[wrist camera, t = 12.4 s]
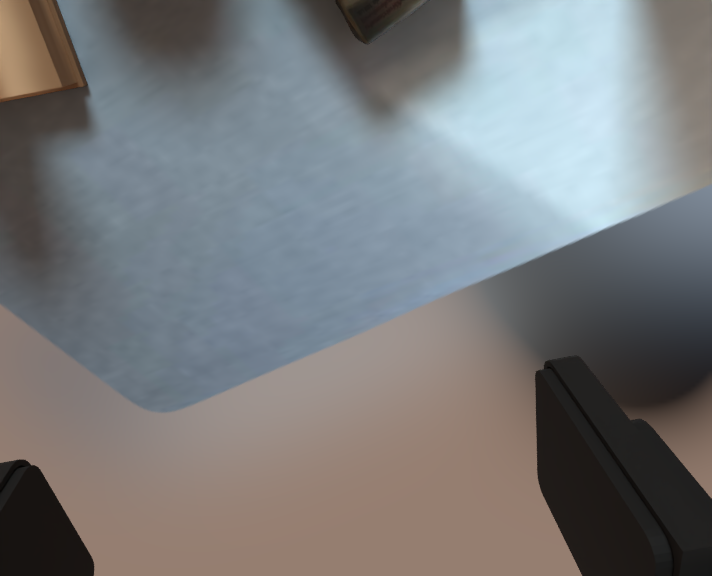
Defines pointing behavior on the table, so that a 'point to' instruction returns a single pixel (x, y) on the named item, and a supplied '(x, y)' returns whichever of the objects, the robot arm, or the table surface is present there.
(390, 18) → the beverage carton
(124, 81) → the table surface
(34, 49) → the plinth
